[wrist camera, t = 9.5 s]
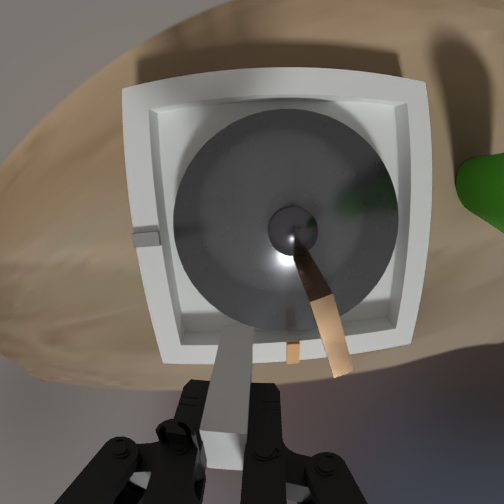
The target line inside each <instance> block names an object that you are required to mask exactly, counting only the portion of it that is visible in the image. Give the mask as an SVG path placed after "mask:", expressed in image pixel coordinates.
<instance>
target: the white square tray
mask: <svg viewBox="0 0 504 504" xmlns="http://www.w3.org/2000/svg"><path fill="white" fill-rule="evenodd" d="M275 109H300V110H307V111H313V112H316V113H320V114H323V115H326V116H329V117H331V118H333V119H336V120H338V121H340V122H342V123H343V124H345V125H347V126H348V127H350V128H351V129H353V130H354V131H356V132H357V133H358V134H359V135H360V136H361V137H363V138H364V139H365V140H366V141H367V142H368V143H369V144H370V145H371V147H372V148H373V149H374V150H375V151H376V152H377V154H378V155H379V157H380V158H381V160H382V161H383V163H384V164H385V167H386V169H387V171H388V173H389V175H390V177H391V180H392V183H393V186H394V189H395V192H396V198H397V203H398V215H399V222H398V234H397V239H396V244H395V248H394V251H393V254H392V257H391V260H390V262H389V264H388V266H387V268H386V271H385V273H384V274H383V276H382V277H381V279H380V280H379V282H378V284H377V285H376V286H375V287H374V289H373V290H372V291H371V292H370V293H369V295H368V296H366V297H365V298H364V299H363V300H362V301H361V302H360V303H359V304H358V305H357V306H355V307H354V308H353V309H351V310H350V311H349V312H347V313H345V314H344V315H342V316H340V320H341V324H342V328H343V331H344V335H345V339H346V343H347V347H348V351H349V354H354V353H361V352H367V351H374V350H379V349H385V348H391V347H396V346H401V345H406V344H411V340H412V336H413V331H414V327H415V323H416V318H417V314H418V309H419V304H420V298H421V293H422V287H423V281H424V274H425V268H426V260H427V252H428V243H429V232H430V219H431V201H432V148H431V130H430V118H429V107H428V99H427V91H426V84H425V82H422V81H417V80H412V79H407V78H402V77H396V76H391V75H384V74H378V73H370V72H362V71H353V70H342V69H329V68H307V67H270V68H248V69H234V70H223V71H214V72H205V73H198V74H191V75H185V76H179V77H173V78H167V79H162V80H157V81H152V82H148V83H143V84H139V85H135V86H131V87H127V88H123V89H122V111H123V136H124V151H125V164H126V175H127V185H128V193H129V202H130V209H131V217H132V224H133V230H134V233H133V234H132V239H133V245H134V248H136V249H137V254H138V260H139V265H140V270H141V275H142V280H143V285H144V290H145V294H146V299H147V303H148V307H149V312H150V316H151V320H152V324H153V328H154V332H155V335H156V339H157V343H158V346H159V350H160V354H161V357H162V360H163V363H172V364H214V362H215V358H216V354H217V349H218V345H219V340H220V336H221V332H222V327H223V325H231V326H249V325H245V324H243V323H241V322H238V321H236V320H234V319H232V318H230V317H228V316H227V315H225V314H223V313H222V312H220V311H219V310H217V309H216V308H215V307H214V306H212V305H211V304H210V303H209V302H208V301H207V300H206V299H205V298H204V297H203V296H202V295H201V294H200V293H199V292H198V290H197V289H196V288H195V287H194V285H193V284H192V283H191V281H190V279H189V278H188V276H187V274H186V272H185V270H184V268H183V266H182V264H181V261H180V259H179V256H178V252H177V248H176V244H175V239H174V230H173V212H174V205H175V199H176V195H177V191H178V188H179V185H180V182H181V180H182V177H183V175H184V173H185V171H186V169H187V167H188V165H189V164H190V162H191V161H192V159H193V158H194V156H195V155H196V153H197V152H198V151H199V150H200V149H201V148H202V147H203V146H204V144H205V143H206V142H207V141H208V140H209V139H211V138H212V137H213V136H214V135H215V134H216V133H218V132H219V131H220V130H222V129H223V128H225V127H227V126H228V125H230V124H231V123H233V122H235V121H237V120H239V119H242V118H244V117H246V116H249V115H252V114H255V113H259V112H262V111H268V110H275ZM323 357H327V355H326V352H325V350H324V347H323V344H322V341H321V338H320V335H319V332H318V329H317V327H313V328H309V329H303V330H298V331H270V330H265V329H259V328H255V327H253V363H264V362H280V361H287V364H293V363H299V360H304V359H314V358H323Z"/></svg>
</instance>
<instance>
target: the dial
mask: <svg viewBox="0 0 504 504" xmlns="http://www.w3.org/2000/svg"><path fill="white" fill-rule="evenodd" d="M398 222H399V215H398V203H397V198H396V192H395V189H394V186H393V183H392V180H391V177H390V175H389V173H388V171H387V169H386V167H385V164H384V163H383V161H382V160H381V158H380V157H379V155H378V154H377V152H376V151H375V150H374V149H373V148H372V147H371V145H370V144H369V143H368V142H367V141H366V140H365V139H364V138H363V137H361V136H360V135H359V134H358V133H357V132H356V131H354V130H353V129H351V128H350V127H348V126H347V125H345V124H343V123H342V122H340V121H338V120H336V119H333V118H331V117H329V116H326V115H323V114H320V113H316V112H313V111H307V110H300V109H275V110H268V111H262V112H259V113H255V114H252V115H249V116H246V117H244V118H242V119H239V120H237V121H235V122H233V123H231V124H230V125H228V126H227V127H225V128H223V129H222V130H220V131H219V132H218V133H216V134H215V135H214V136H213V137H212V138H211V139H209V140H208V141H207V142H206V143H205V144H204V146H203V147H202V148H201V149H200V150H199V151H198V152H197V153H196V155H195V156H194V158H193V159H192V161H191V162H190V164H189V165H188V167H187V169H186V171H185V173H184V175H183V177H182V180H181V182H180V185H179V188H178V191H177V195H176V199H175V205H174V212H173V230H174V239H175V244H176V248H177V252H178V256H179V259H180V261H181V264H182V266H183V268H184V270H185V272H186V274H187V276H188V278H189V279H190V281H191V283H192V284H193V285H194V287H195V288H196V289H197V290H198V292H199V293H200V294H201V295H202V296H203V297H204V298H205V299H206V300H207V301H208V302H209V303H210V304H211V305H212V306H214V307H215V308H216V309H217V310H219V311H220V312H222V313H223V314H225V315H227V316H228V317H230V318H232V319H234V320H236V321H238V322H241V323H243V324H245V325H249V326H253V327H255V328H259V329H265V330H270V331H298V330H303V329H309V328H313V327H317V329H318V332H319V335H320V338H321V341H322V344H323V347H324V350H325V352H326V355H327V358H328V361H329V364H330V367H331V370H332V373H333V376H334V378H335V377H338V376H341V375H344V374H346V373H349V372H352V371H353V367H352V363H351V359H350V355H349V351H348V347H347V343H346V339H345V335H344V331H343V328H342V324H341V320H340V316H342V315H344V314H345V313H347V312H349V311H350V310H351V309H353V308H354V307H355V306H357V305H358V304H359V303H360V302H361V301H362V300H363V299H364V298H365V297H366V296H368V295H369V293H370V292H371V291H372V290H373V289H374V287H375V286H376V285H377V284H378V282H379V280H380V279H381V277H382V276H383V274H384V273H385V271H386V268H387V266H388V264H389V262H390V260H391V257H392V254H393V251H394V248H395V244H396V239H397V234H398Z"/></svg>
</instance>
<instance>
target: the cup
mask: <svg viewBox="0 0 504 504" xmlns="http://www.w3.org/2000/svg"><path fill="white" fill-rule="evenodd" d="M456 190H457V195H458V197H459V200H460V201H461V203H462V204H463V205H464V207H465V208H466V209H468V210H469V211H471V212H472V213H474V214H475V215H477V216H479V217H480V218H482V219H483V220H485V221H486V222H488V223H489V224H491V225H492V226H494V227H495V228H497V229H498V230H500V231H501V232H503V233H504V153H500V154H494V155H488V156H482V157H476V158H471V159H468V160H467V161H465V162H464V163H463V164H462V165H461V166H460V168H459V170H458V173H457V177H456Z"/></svg>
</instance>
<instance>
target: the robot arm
mask: <svg viewBox="0 0 504 504" xmlns="http://www.w3.org/2000/svg"><path fill="white" fill-rule="evenodd" d="M252 368H253V326H231V325H223V327H222V332H221V336H220V340H219V345H218V349H217V354H216V358H215V362H214V367H213V371H212V376H211V380H210V381H202V380H192V379H191V380H190V381H189V382H188V383H187V384H186V385H185V386H184V388H183V391H182V394H181V398H180V400H179V405H178V407H177V410H176V413H175V416H174V419H169V420H166V421H164V422H162V423H161V424H159V425H158V427H157V428H156V433H157V436H158V438H159V441H158V442H155V443H146V444H136V443H135V442H134V441H133V440H131V439H130V438H126V437H115V438H112V439H110V440H109V441H107V442H106V443H105V445H104V446H103V447H102V448H101V449H100V451H99V452H98V453H97V454H96V455H95V456H94V458H93V459H92V460H91V461H90V462H89V463H88V465H87V466H86V467H85V468H84V469H83V471H82V472H81V473H80V474H79V476H77V478H76V479H75V480H74V481H73V482H72V484H71V485H70V486H69V487H68V488H67V489H66V491H65V492H64V493H63V494H62V495H61V496H60V498H59V499H58V500H57V501H56V502H55V503H54V504H202V501H203V495H204V489H205V483H206V475H205V469H206V463H207V467H208V468H217V469H230V470H243V477H242V490H241V502H240V504H287V502H286V499H289V500H293V501H297V503H298V504H367V502H366V500H365V498H364V496H363V494H362V493H361V491H360V489H359V487H358V486H357V484H356V482H355V480H354V478H353V476H352V474H351V473H350V471H349V469H348V467H347V465H346V464H345V461H344V460H343V459H342V458H341V457H340V456H338V455H336V454H334V453H329V452H323V453H318V454H316V455H314V456H312V457H310V456H305V455H300V454H296V453H294V452H292V451H291V450H289V449H288V448H287V447H286V446H285V444H284V443H283V439H282V425H281V405H280V391H279V390H278V388H277V387H276V385H275V384H274V383H252Z"/></svg>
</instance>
